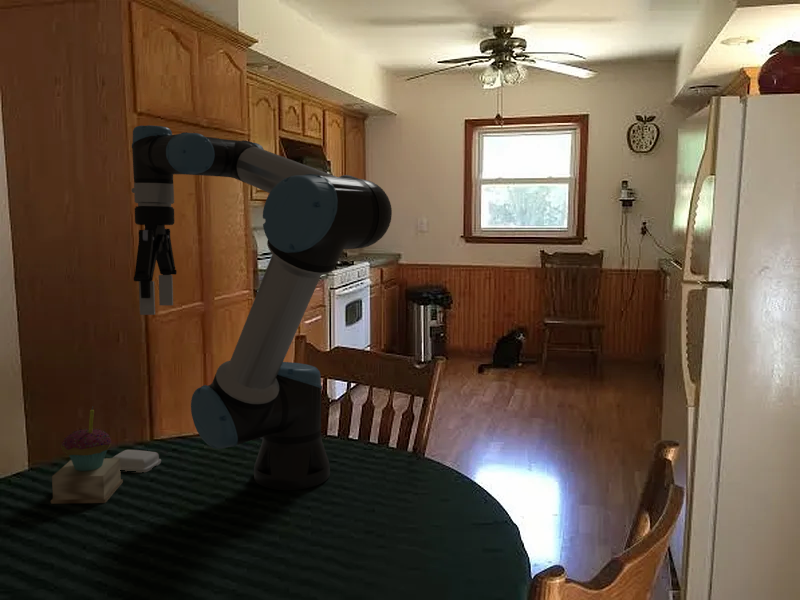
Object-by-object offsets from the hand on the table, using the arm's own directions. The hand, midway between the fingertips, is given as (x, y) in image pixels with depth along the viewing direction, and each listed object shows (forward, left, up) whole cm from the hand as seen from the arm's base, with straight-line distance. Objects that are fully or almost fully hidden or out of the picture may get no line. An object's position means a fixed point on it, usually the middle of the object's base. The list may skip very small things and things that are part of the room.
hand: (157, 309), depth 139 cm
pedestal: (+10, +15, -33) cm, 37 cm away
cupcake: (+9, +15, -28) cm, 33 cm away
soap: (+5, +1, -33) cm, 34 cm away
